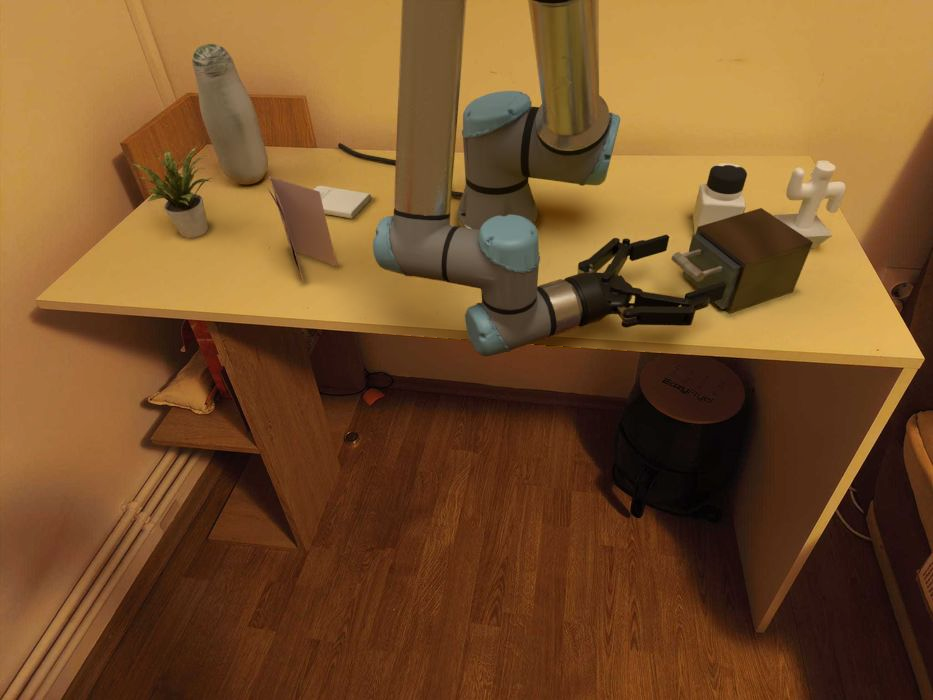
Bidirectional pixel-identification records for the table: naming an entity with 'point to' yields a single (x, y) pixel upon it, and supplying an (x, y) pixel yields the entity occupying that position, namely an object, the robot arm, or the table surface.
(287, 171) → the table surface
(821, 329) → the table surface
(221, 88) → the grey bottle
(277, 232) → the table surface
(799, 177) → the figurine
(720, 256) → the grey pull-out drawer
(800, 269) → the cabinet
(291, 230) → the greeting card
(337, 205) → the hard drive
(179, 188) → the house plant
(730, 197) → the medicine bottle
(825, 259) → the table surface
